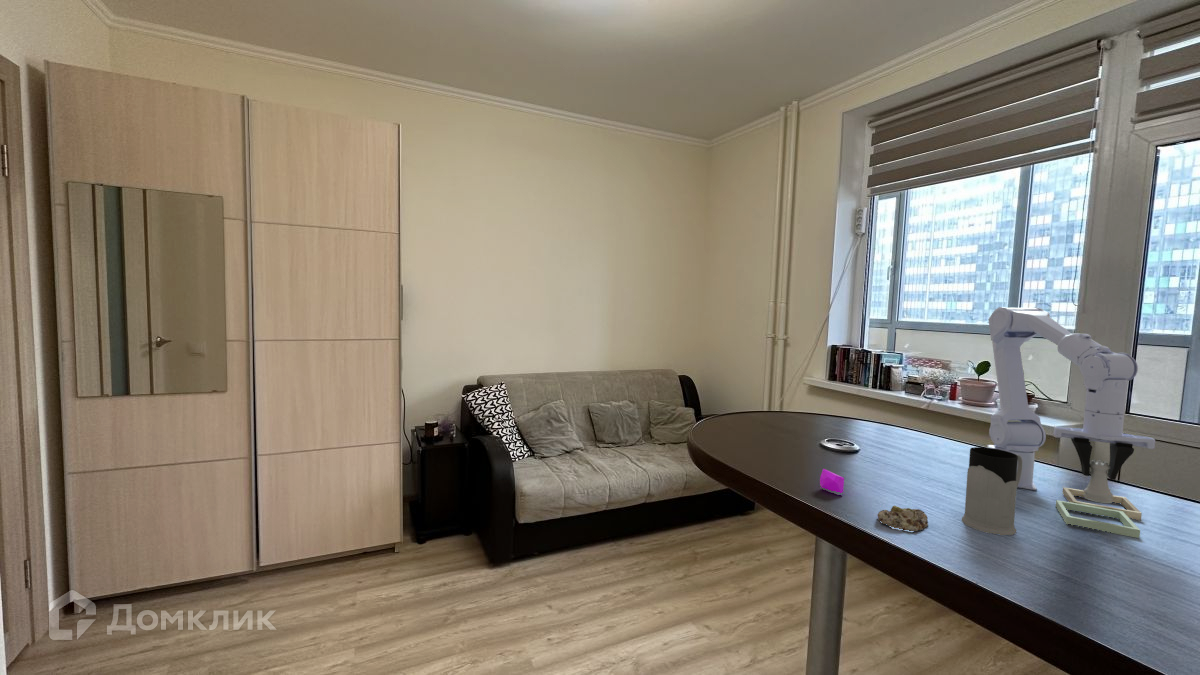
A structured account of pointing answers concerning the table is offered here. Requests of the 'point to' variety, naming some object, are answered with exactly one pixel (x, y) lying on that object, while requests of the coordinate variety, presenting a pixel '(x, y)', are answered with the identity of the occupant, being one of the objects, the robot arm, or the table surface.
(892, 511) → the mineral rock
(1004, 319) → the robot arm
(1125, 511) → the beige square frame
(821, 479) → the crystal
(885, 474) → the table surface
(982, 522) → the beige black oval cylinder
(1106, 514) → the sage square frame
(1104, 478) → the rook chess piece
